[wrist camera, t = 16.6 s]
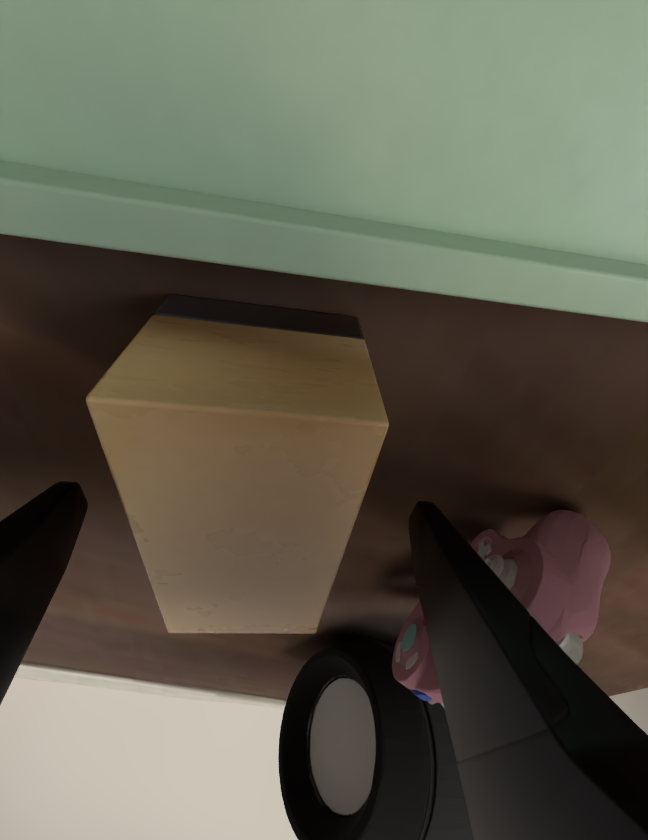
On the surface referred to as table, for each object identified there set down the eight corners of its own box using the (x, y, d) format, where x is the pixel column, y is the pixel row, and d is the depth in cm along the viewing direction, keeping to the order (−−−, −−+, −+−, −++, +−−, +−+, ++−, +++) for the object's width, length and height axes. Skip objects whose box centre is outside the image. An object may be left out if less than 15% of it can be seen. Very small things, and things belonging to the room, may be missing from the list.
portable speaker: (274, 654, 25) (261, 891, 17) (377, 605, 20) (423, 899, 12) (472, 698, 36) (518, 851, 29) (566, 674, 32) (650, 847, 24)
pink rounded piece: (514, 460, 15) (534, 604, 9) (611, 520, 14) (697, 710, 9) (395, 568, 20) (362, 699, 15) (463, 614, 20) (456, 766, 14)
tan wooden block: (199, 516, 14) (167, 633, 11) (168, 292, 8) (80, 397, 5) (313, 521, 14) (316, 634, 11) (359, 316, 9) (391, 424, 6)
